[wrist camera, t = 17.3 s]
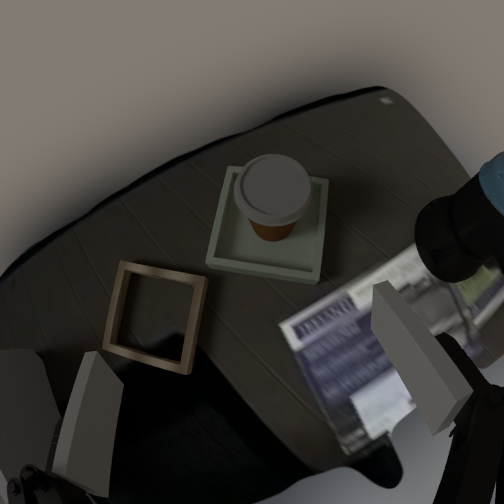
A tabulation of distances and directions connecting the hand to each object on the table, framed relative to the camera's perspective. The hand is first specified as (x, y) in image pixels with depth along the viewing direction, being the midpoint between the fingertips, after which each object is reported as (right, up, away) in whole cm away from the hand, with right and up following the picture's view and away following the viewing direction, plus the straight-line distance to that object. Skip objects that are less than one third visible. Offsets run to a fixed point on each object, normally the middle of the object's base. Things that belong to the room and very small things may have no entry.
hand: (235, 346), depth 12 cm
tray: (+4, +8, +33) cm, 34 cm away
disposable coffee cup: (+4, +9, +32) cm, 34 cm away
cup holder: (-14, -6, +30) cm, 34 cm away
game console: (-37, -28, +26) cm, 53 cm away
